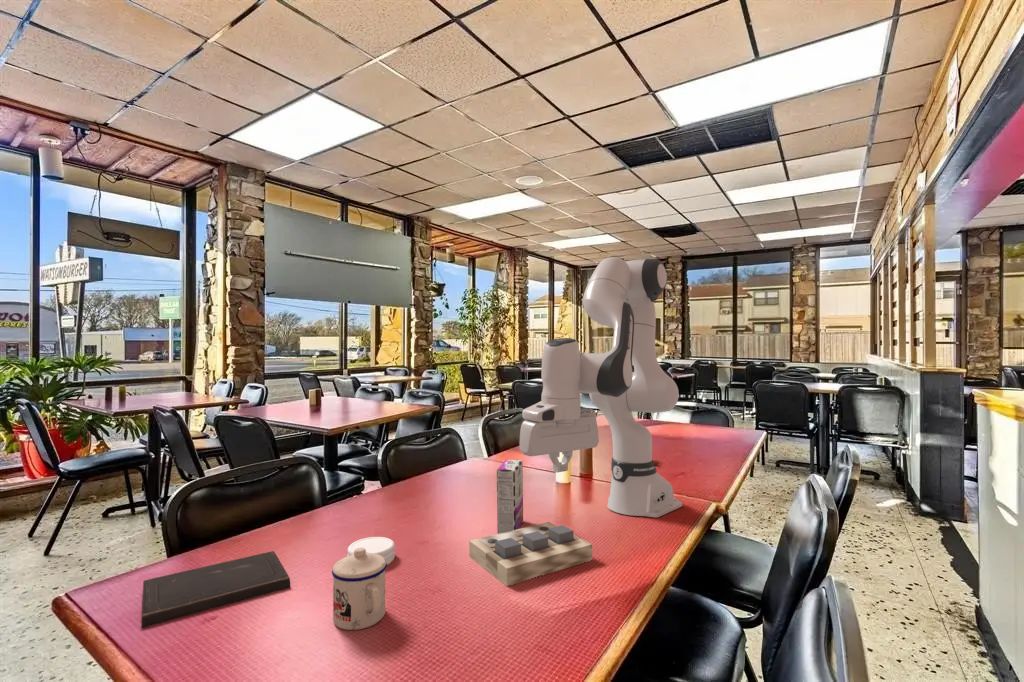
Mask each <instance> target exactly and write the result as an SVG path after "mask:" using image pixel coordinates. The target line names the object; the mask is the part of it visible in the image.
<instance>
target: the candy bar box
mask: <svg viewBox="0 0 1024 682" xmlns="http://www.w3.org/2000/svg"><path fill="white" fill-rule="evenodd" d="M523 467H524V466H523V459H511V458H509V459H507V458H506V459H505V460H504V461H503V462H502V464H500V465H499V467H498V468H497V469H496V498H497V499H496V504H497V506H496V508H497V509H496V510H497V511H496V512H497V515H496V516H497V519H496V520H497V534H500V533H504V532H508V531H513V530H517V529H520V527H521V525H522V523H523V521H524V490H523V489H524V481H523V479H524V478H523V477H524V475H523V474H524V472H523Z"/></svg>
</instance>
